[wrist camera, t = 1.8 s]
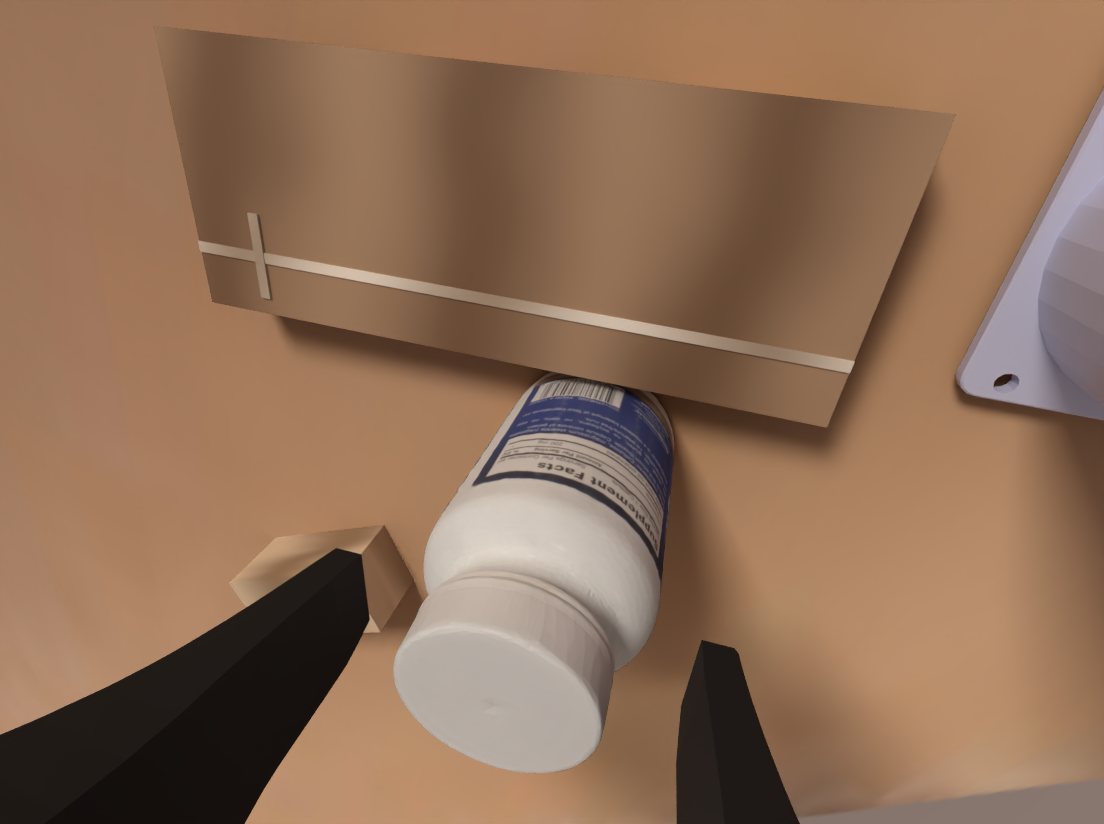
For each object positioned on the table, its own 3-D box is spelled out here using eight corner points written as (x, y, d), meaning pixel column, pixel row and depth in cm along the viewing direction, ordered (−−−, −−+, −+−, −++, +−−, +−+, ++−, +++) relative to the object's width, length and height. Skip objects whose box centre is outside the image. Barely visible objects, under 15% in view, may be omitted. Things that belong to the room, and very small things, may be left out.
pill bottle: (597, 527, 20) (516, 823, 12) (485, 429, 19) (311, 673, 11) (713, 442, 17) (715, 751, 9) (587, 325, 16) (461, 542, 8)
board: (922, 114, 12) (957, 114, 10) (814, 393, 16) (827, 429, 14) (216, 35, 15) (151, 25, 13) (258, 284, 19) (210, 302, 17)
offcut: (386, 522, 23) (345, 573, 20) (415, 576, 24) (380, 632, 21) (278, 535, 25) (229, 583, 22) (310, 585, 26) (266, 635, 24)
